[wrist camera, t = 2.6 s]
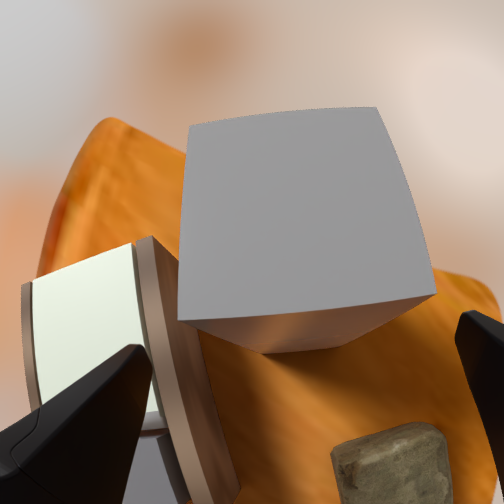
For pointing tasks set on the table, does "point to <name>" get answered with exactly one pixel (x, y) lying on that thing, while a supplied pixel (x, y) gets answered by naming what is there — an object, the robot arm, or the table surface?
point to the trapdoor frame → (167, 378)
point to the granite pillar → (297, 230)
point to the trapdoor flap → (105, 355)
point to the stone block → (395, 467)
